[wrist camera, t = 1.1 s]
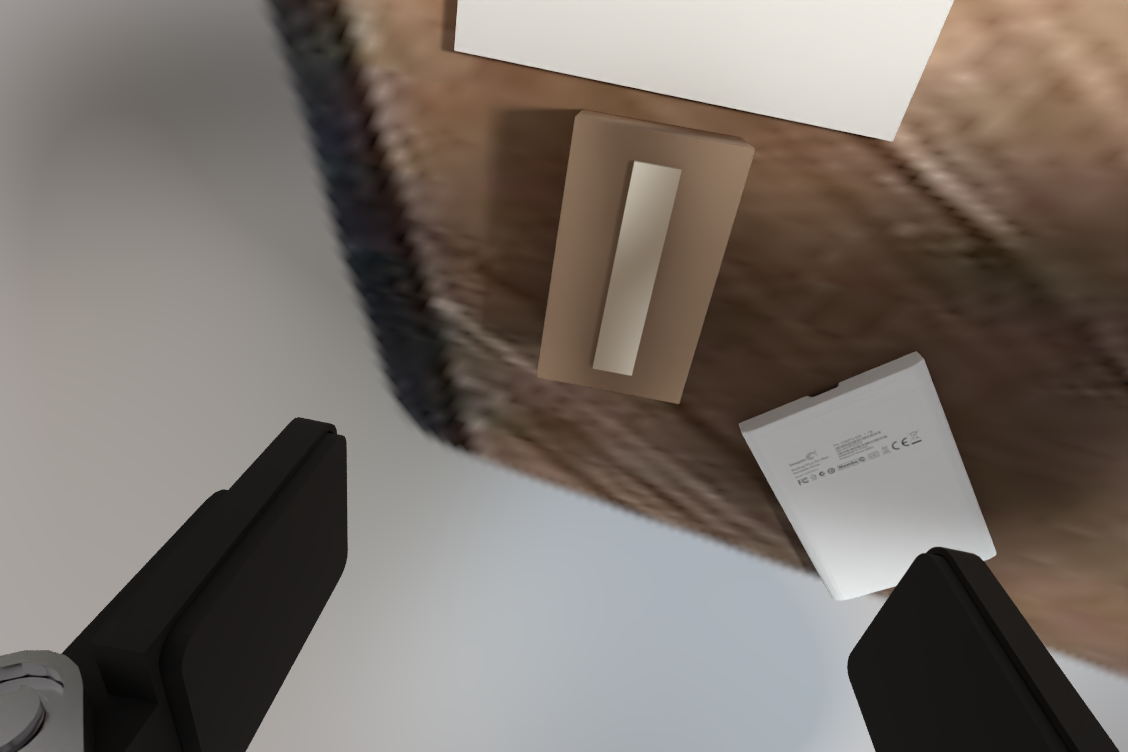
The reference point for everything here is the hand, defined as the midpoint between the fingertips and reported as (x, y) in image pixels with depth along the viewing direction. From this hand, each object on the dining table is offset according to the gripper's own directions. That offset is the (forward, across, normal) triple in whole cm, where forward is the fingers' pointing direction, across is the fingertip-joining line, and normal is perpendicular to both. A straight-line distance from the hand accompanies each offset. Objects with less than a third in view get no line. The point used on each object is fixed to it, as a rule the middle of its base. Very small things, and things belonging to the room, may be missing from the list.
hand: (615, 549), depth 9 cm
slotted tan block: (+17, 0, 0) cm, 17 cm away
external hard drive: (+17, -15, +9) cm, 24 cm away
